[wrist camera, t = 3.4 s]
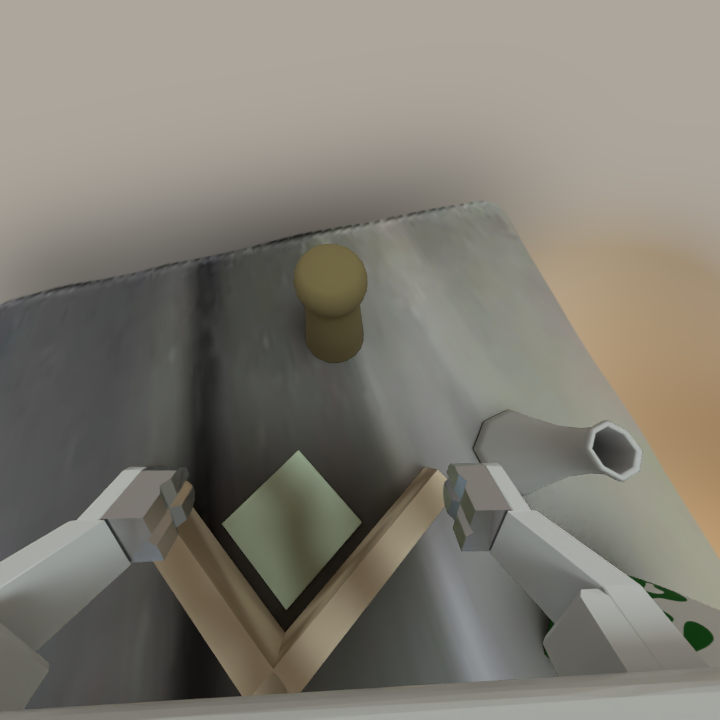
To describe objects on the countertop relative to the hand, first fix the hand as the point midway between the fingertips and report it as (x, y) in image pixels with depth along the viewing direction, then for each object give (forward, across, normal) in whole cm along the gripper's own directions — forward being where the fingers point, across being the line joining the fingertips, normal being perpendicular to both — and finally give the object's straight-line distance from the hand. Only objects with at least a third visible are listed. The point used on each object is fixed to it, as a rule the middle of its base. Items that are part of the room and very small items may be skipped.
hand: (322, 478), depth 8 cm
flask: (+12, +16, -11) cm, 23 cm away
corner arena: (+10, -3, -13) cm, 16 cm away
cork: (+20, 0, -3) cm, 20 cm away
